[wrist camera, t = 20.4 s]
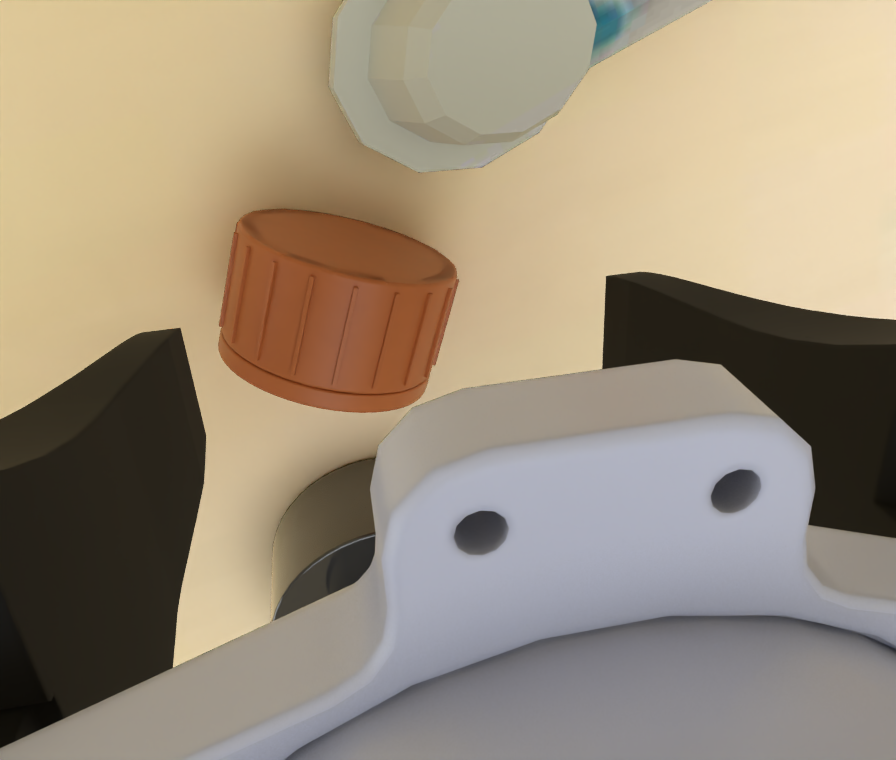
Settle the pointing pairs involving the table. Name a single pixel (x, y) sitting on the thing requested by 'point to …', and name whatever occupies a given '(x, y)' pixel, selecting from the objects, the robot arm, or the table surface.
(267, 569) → the table surface
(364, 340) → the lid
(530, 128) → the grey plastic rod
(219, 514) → the table surface
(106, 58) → the table surface
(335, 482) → the grey round holder
